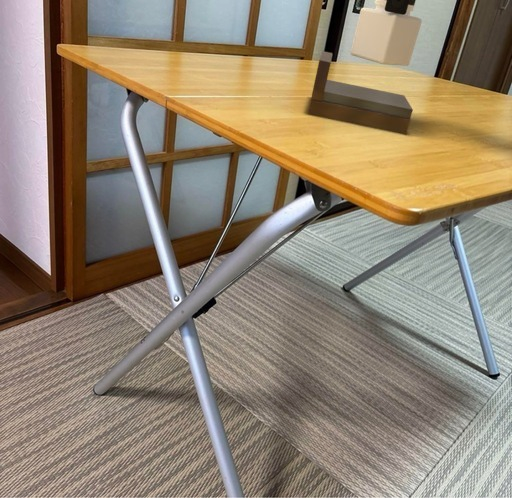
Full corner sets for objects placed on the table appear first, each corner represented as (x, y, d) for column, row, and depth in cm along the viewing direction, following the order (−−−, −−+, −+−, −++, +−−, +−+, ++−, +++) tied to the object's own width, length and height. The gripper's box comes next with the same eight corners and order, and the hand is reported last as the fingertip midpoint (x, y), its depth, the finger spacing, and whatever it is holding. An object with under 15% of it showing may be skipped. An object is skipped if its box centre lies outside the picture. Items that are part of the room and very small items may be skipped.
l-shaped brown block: (397, 116, 94) (411, 69, 90) (405, 135, 82) (422, 80, 78) (312, 99, 95) (322, 51, 91) (307, 114, 83) (319, 59, 79)
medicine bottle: (409, 66, 84) (433, -15, 79) (383, 64, 80) (406, -22, 74) (375, 56, 89) (396, -21, 83) (348, 54, 84) (368, -28, 79)
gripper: (468, -131, 65) (423, 19, 73) (444, -107, 80) (409, 14, 88) (409, -142, 65) (371, 9, 73) (396, -116, 81) (366, 6, 89)
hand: (392, 11), depth 81 cm, fingers closed on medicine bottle, 7 cm apart
